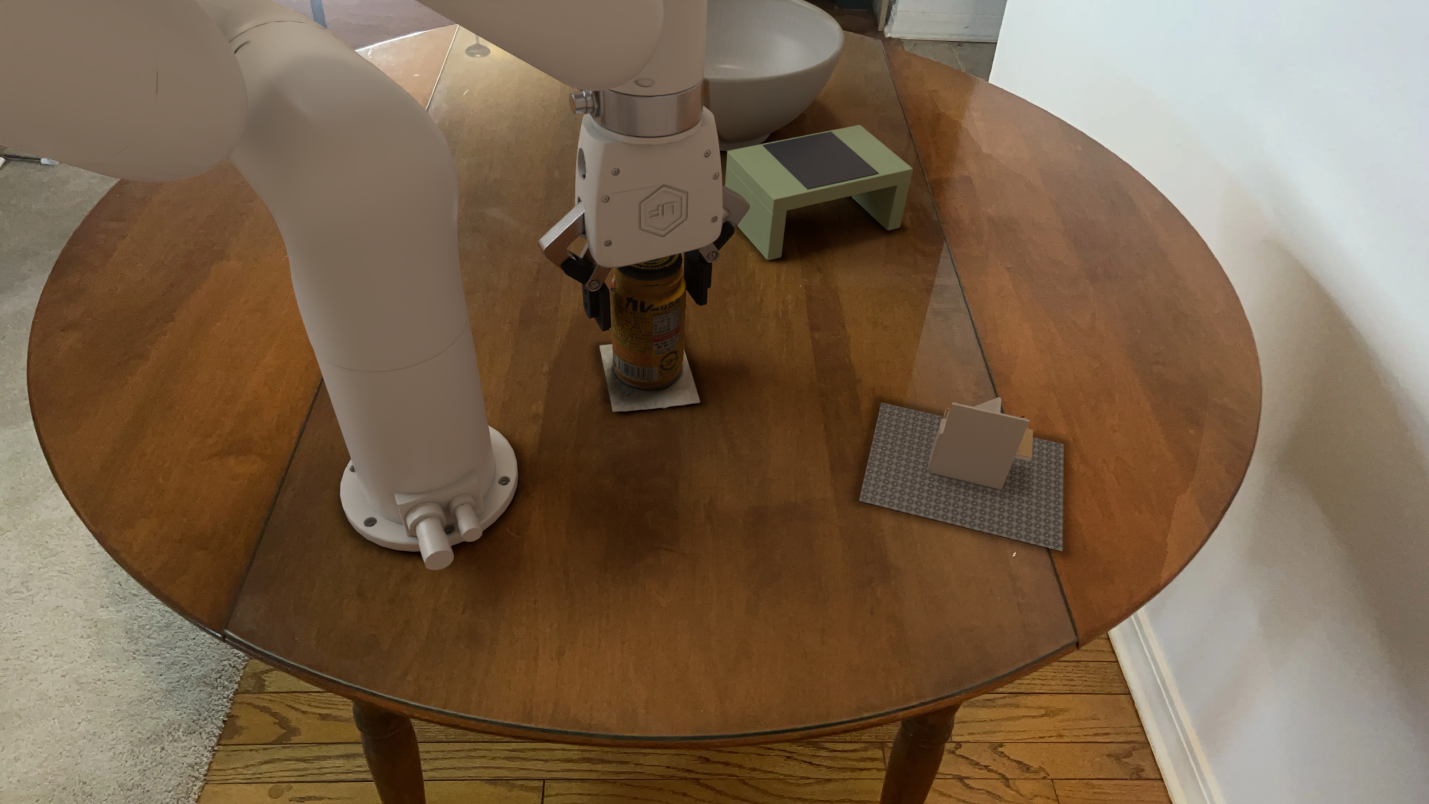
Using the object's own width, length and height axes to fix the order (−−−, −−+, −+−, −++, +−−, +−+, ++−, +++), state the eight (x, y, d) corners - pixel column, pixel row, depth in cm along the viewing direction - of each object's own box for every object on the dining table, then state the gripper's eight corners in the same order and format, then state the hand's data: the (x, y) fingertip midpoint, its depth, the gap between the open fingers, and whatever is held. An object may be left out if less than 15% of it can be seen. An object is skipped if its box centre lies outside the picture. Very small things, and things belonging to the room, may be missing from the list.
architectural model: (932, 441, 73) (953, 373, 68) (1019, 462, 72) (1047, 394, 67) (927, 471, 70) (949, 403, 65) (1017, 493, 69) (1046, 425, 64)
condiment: (680, 339, 81) (683, 224, 72) (700, 404, 75) (706, 287, 66) (599, 347, 79) (593, 231, 71) (612, 414, 73) (607, 297, 65)
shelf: (900, 227, 95) (913, 167, 91) (767, 260, 90) (774, 198, 85) (850, 182, 102) (860, 123, 97) (723, 210, 96) (727, 149, 91)
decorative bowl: (630, 193, 98) (628, 86, 89) (595, 84, 116) (590, -13, 108) (861, 173, 103) (880, 71, 95) (792, 73, 122) (803, -21, 113)
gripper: (537, 147, 54) (559, 365, 67) (788, 101, 60) (766, 309, 73) (502, 94, 59) (528, 307, 71) (738, 57, 65) (725, 259, 77)
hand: (648, 306), depth 72 cm, fingers open, 7 cm apart
